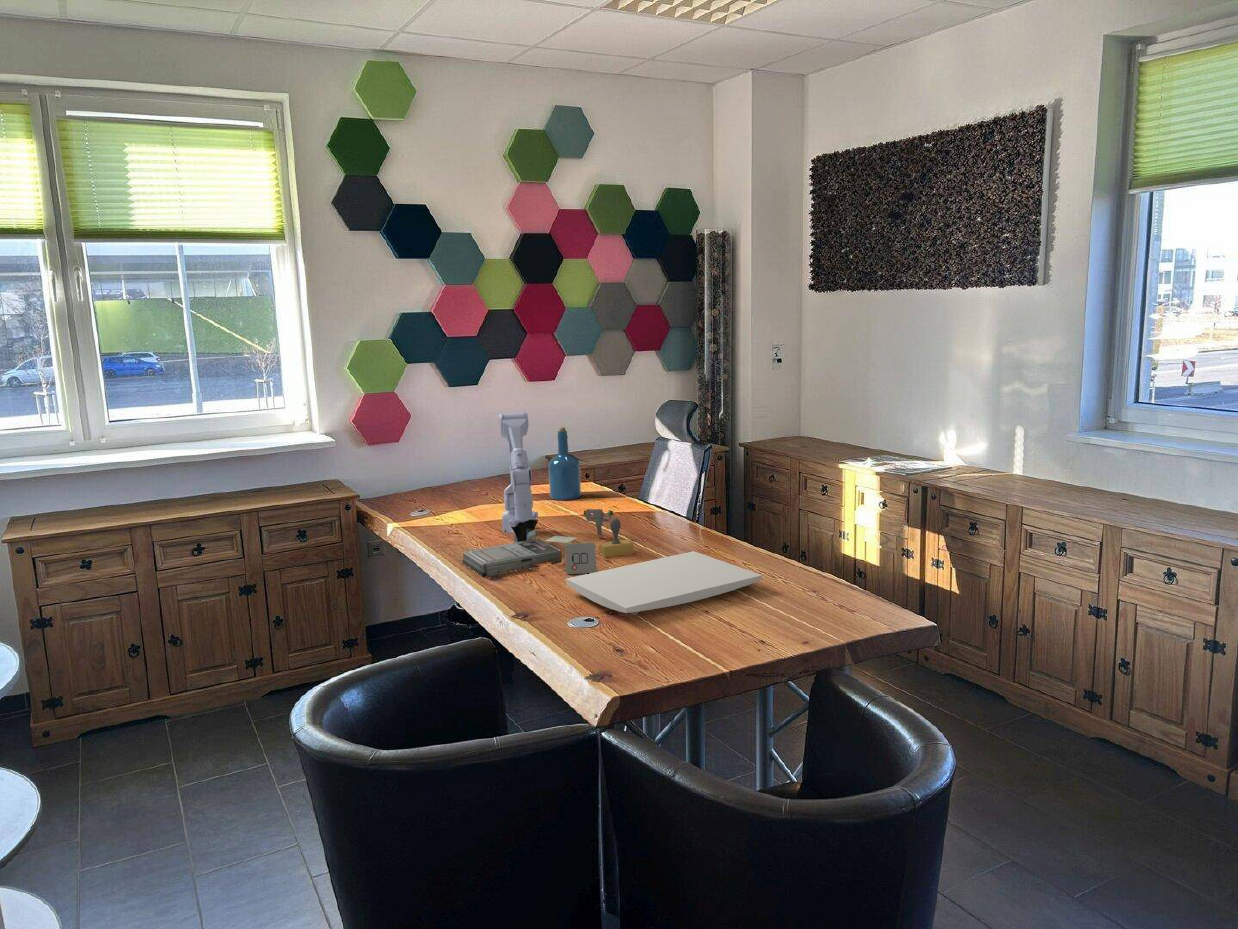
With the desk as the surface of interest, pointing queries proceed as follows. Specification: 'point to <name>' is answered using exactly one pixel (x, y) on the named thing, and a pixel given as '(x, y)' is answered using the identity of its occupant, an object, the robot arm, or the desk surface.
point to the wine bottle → (564, 471)
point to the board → (662, 582)
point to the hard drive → (510, 557)
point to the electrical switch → (580, 558)
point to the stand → (561, 539)
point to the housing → (528, 535)
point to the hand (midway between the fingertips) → (525, 542)
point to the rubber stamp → (616, 543)
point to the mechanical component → (598, 517)
